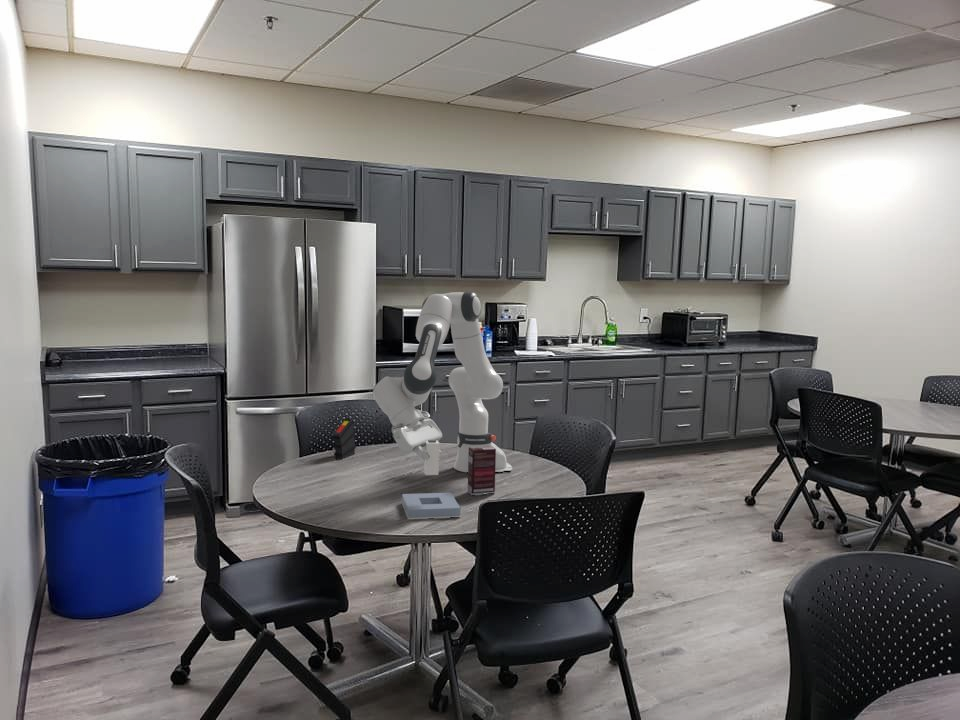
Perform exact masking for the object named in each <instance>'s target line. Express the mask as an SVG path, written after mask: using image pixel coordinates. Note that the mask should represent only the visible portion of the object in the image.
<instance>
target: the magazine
mask: <svg viewBox="0 0 960 720" xmlns="http://www.w3.org/2000/svg"><path fill="white" fill-rule="evenodd" d="M353 424H354V421H353V420H352V418H344V419H343V420H342V421H341V422H340V424H338V426H337V427H336V428H335V430H334V431H333V432H332V436H331V439H333V441H334V444H333V446H332V447H333V448H334V453H333V456H334V459H335V458H337V459H336V460H344V459H346V458H349V457H350V456H353V455H355V454H356V452H355V449H356V448H357V445H356V443H355V442H356V441H355V435H356V431H354V426H353ZM343 458H344V459H343Z"/></svg>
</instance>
